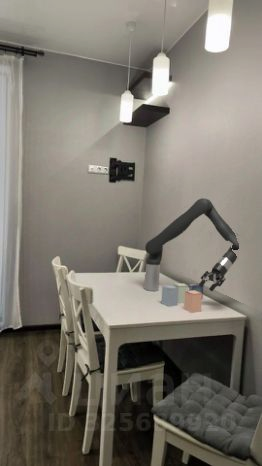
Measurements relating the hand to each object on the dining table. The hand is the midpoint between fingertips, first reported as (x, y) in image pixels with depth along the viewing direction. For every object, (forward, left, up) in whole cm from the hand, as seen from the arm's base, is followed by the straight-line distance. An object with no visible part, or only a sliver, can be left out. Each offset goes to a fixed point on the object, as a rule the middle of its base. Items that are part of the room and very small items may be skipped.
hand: (204, 288), depth 176 cm
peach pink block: (0, -8, -12) cm, 14 cm away
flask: (-18, +9, -12) cm, 23 cm away
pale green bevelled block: (-16, -4, -12) cm, 20 cm away
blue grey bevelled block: (-13, -14, -12) cm, 22 cm away
